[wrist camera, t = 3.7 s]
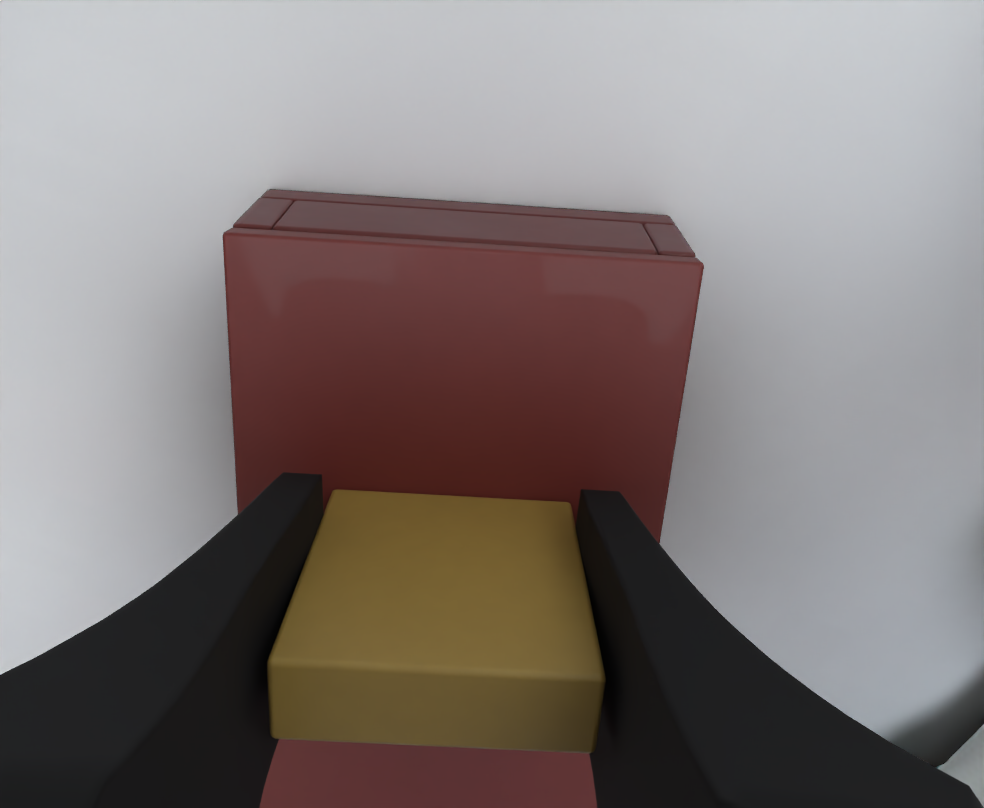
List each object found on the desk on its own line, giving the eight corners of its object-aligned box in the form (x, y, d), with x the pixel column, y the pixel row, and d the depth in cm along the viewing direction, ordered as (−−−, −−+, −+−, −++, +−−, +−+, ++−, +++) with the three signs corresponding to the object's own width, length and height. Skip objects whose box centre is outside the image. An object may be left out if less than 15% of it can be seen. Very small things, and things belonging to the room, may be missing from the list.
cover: (603, 853, 17) (645, 1128, 13) (261, 838, 17) (179, 1113, 12) (697, 256, 13) (815, 352, 8) (231, 226, 12) (82, 308, 8)
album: (587, 693, 20) (597, 770, 19) (300, 679, 20) (279, 755, 18) (670, 214, 15) (696, 253, 13) (266, 188, 14) (231, 223, 12)
